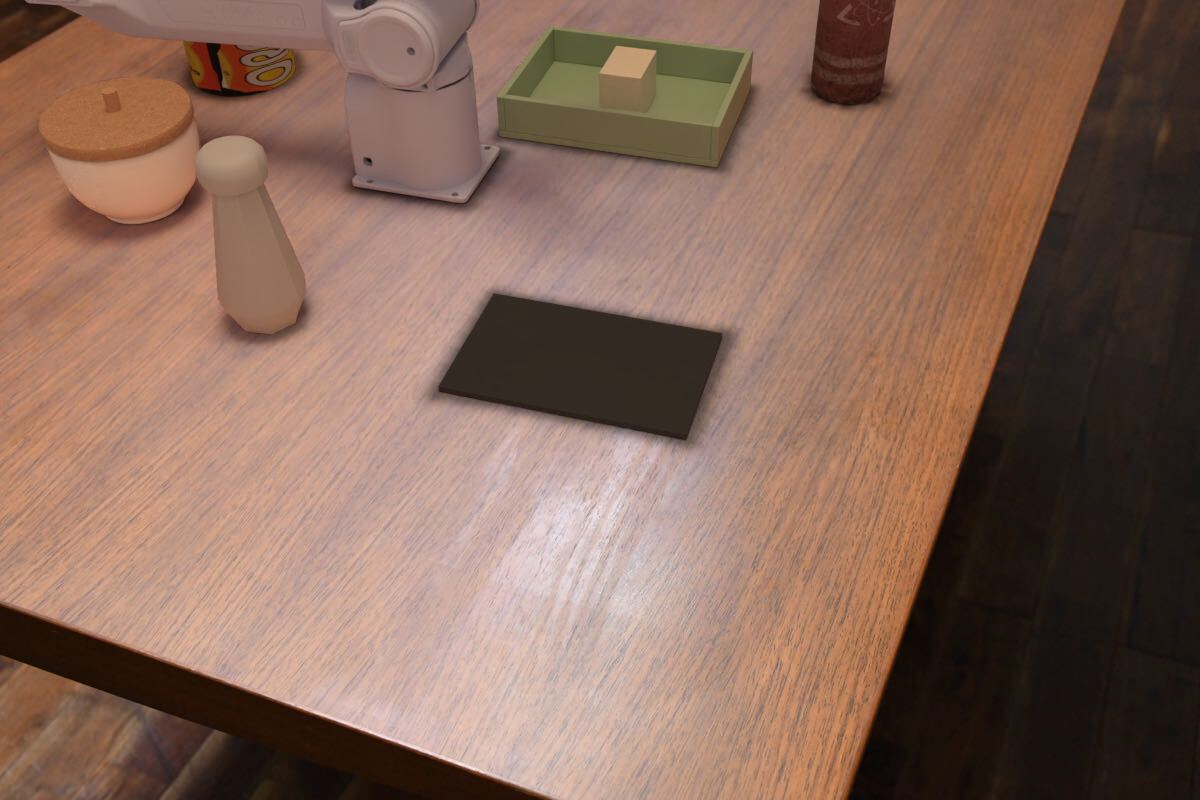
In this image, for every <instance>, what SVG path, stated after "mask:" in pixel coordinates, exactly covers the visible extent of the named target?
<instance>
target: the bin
mask: <svg viewBox="0 0 1200 800" xmlns="http://www.w3.org/2000/svg"><path fill="white" fill-rule="evenodd" d="M616 46H623V47H631V48H639V49H647V50H655V51H657V57H656V95H655V96H654V98H653V100H652V102H651V104H650V106H649V108H648V109H647V111H646V113H640V112H632V111H625V110H617V109H610V108H603V107H600V97H599V73H600V71H601V69H602V68H603V66H604V65H605V63H606V61H607V60H608V58H609V57H610V55H611V53H612V52H613V50H614V49H615V47H616ZM753 58H754V50H752V49H745V48H744V49H743V48H735V47H727V46H721V45H720V46H719V45H718V46H717V45H711V44H702V43H694V42H685V41H679V40H678V41H677V40H670V39H661V38H652V37H644V36H637V35H629V34H620V33H611V32H603V31H596V30H586V29H579V28H571V27H563V26H554V25H548V26H547V28H546V29H544V32H543V33H542V34H541V35H540V37H539V38H538V40H537V41H536V42H535V44H534V45H533V46H532V48H531V49H530V50H529V51H528V53H527V55H526V56H525V57H524V58H523V60H522V61H521V63H520V64H519V65H518V67H517V68H516V70H514V72H513V74H512V75H511V76H510V78H509V79H508V81H507V82H506V83H505V84H504V86H503V87H502V89H501V90H500V91H499V92H498V94H497V95H496V106H497V119H498V134H499V137H502V138H509V139H515V140H523V141H529V142H530V141H531V142H536V143H544V144H551V145H558V146H563V147H564V146H565V147H572V148H578V149H587V150H593V151H601V152H607V153H608V152H609V153H613V154H619V155H620V154H621V155H627V156H634V157H641V158H647V159H648V158H649V159H656V160H663V161H668V162H676V163H682V164H689V165H696V166H704V167H709V168H710V167H712V168H718V166H719V164H720V161H721V159H722V156H723V155H724V151H725V149H726V147H727V145H728V143H729V141H730V138H731V135H732V133H733V130H734V129H735V126H736V124H737V122H738V119H739V116H740V114H741V113H742V111H743V107H744V104H745V103H746V100H747V98H748V95H749V93H750V91H751V85H752V73H753V72H752V71H753V60H754V59H753Z"/></svg>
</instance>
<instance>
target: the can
mask: <svg viewBox="0 0 1200 800" xmlns="http://www.w3.org/2000/svg"><path fill="white" fill-rule="evenodd" d="M896 2H897V1H896V0H819V2H818V10H817V20H816V27H815V28H816V29H815V38H814V39H815V40H814V47H813V55H812V63H811V64H812V65H811V72H810V83H811V85H812V88H813V90H814V92H815V93H816V94H817V95H818V96H819V97H820V98H822V99H825V100H827V101H829V102H834V103H837V104H847V105H852V104H861V103H865V102H868V101H871V100H872V99H874V98H875V97H876V96H877V95H878V94H879V92H880V91H881V90H882V89H883V84H884V77H885V72H886V65H887V59H888V52H889V46H890V39H891V35H892V34H891V33H892V26H893V20H894V14H895V9H896V8H895V7H896Z"/></svg>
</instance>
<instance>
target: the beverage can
mask: <svg viewBox="0 0 1200 800" xmlns="http://www.w3.org/2000/svg"><path fill="white" fill-rule="evenodd" d="M182 44H183V47H184V52H185V54H186V59H187V63H188V67H189V71H190V74H191V78H192V81H193V83H194V85H195V86H196V87H197V88H198V89H199V90H201V91H203V92H205V93H208V94H210V95H216V96H221V97H241V96H242V97H243V96H244V97H245V96H252V95H256V94H260V93H264V92H266V91H270V90H272V89H276V88H277V87H279V86H280V85H283V84H284V83H286V82H287V81H288V80H289V79H290V78H292V76H293V75H294V73H295V71H296V60H295V55H294V49H288V48H274V47H261V46H247V45H234V44H220V43H206V42H193V41H182Z"/></svg>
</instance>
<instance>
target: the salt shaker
mask: <svg viewBox="0 0 1200 800" xmlns="http://www.w3.org/2000/svg"><path fill="white" fill-rule="evenodd" d="M268 163H269V162H268V158H267V153H266V152H265V150H264V147H263V145H261V144H260V143H259V142H257V141H256V140H254V139H252V138H251V137H248V136H244V135H241V134H239V135H238V134H237V135H225V136H221V137H216V138H213V139H212V140H210V141H208V142H206V143H205V144H203V146H202V147H200V150H199V152H198V153H197V154H196V155H195V168H196V175H197V177H196V179H197V180H198V183H199V184H200V186H201V188H203V189H204V190H206V192H207V193H209V194H211V207H212V223H213V240H214V257H215V259H214V260H215V273H216V274H215V275H216V277H215V278H216V292H217V301H218V302H219V304H220V306H221V307H222V308H223V309H224V310H225V311H226V313H228V314H229V316H231V318H232V319H233V320H234V321H235V322H236V323H237V324H238V325H239V326H240V327H241V328H242V329H243V331H245V332H246V333H247V332H248V333H255V334H265V335H273V334H275V333H278V332H279V331H281V330H284V329H286V328H288V327H290V326H292V325H294V324H296V322H297V318H298V315H299V312H300V310H301V306H302V304H303V301H304V299H305V296H306V294H307V282H306V276H305V272H304V270H303V267H302V265H301V263H300V261H299V259H298V256H297V255H296V252H295V250H294V247H293V245H292V242H291V241H290V238H289V236H288V234H287V232H286V229H285V227H284V225H283V223H282V220H281V218H280V216H279V214H278V212H277V209H276V207H275V205H274V202H273V200H272V198H271V195H270V193H269V191H268V189H267V187H266V185H265V182H266V180H267V179H268V177H269V164H268Z"/></svg>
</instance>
